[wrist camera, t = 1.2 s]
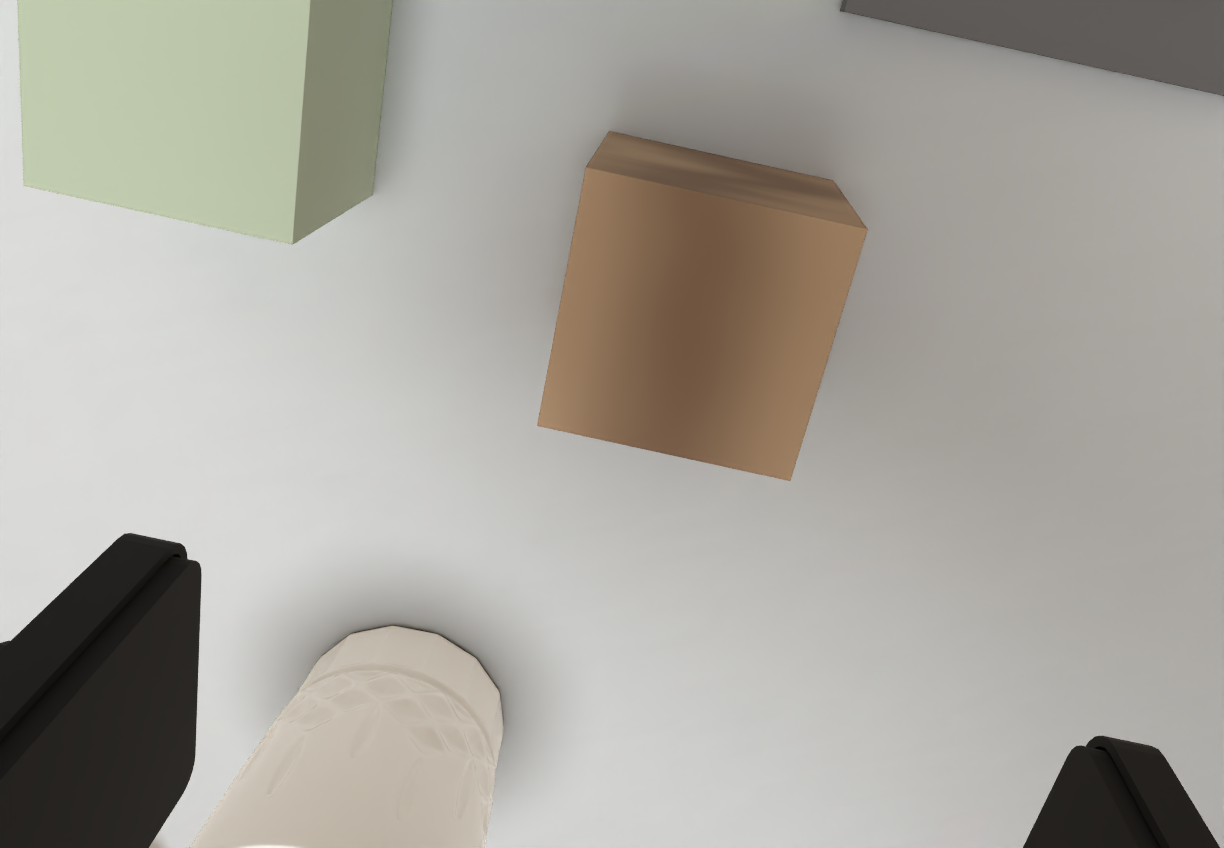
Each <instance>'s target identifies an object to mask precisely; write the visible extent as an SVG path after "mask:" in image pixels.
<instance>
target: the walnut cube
mask: <svg viewBox="0 0 1224 848" xmlns="http://www.w3.org/2000/svg"><path fill="white" fill-rule="evenodd" d="M867 230H868V229H867V228H866V226H865V225H864V223H863V222H862V221H861V219H860V218H859V216H858V215H857V213H856V212H855V211H854V209H853V208H852V206H851V205H850V204H849V202H848V201H847V199H846V198H845V197H844V195H843V194H842V192H841V191H840V189H839V188H838V187H837V185H836V184H835V182H834V181H833V180H828V179H824V178H819V177H815V176H810V175H806V174H801V173H797V172H792V171H788V170H783V169H778V168H774V167H769V166H765V165H760V164H756V163H751V162H747V161H742V160H738V159H733V158H729V157H724V156H719V155H715V154H710V153H706V152H701V151H697V150H692V149H688V148H683V147H679V146H674V145H669V144H665V143H660V142H656V141H651V140H647V139H642V138H638V137H633V136H629V135H624V134H620V133H615V132H610V131H609V132H608V134H607V135H606V137H605V138H604V140H603V141H602V143H601V145H600V146H599V148H598V149H597V151H596V152H595V154H594V155H593V157H592V159H591V160H590V162H589V163H588V165H587V166H586V169H585V175H584V180H583V185H582V191H581V196H580V201H579V206H578V212H577V217H576V222H575V228H574V233H573V238H572V244H571V249H570V254H569V260H568V265H567V270H566V275H565V281H564V286H563V291H562V297H561V302H560V307H559V313H558V318H557V323H556V328H555V334H554V339H553V344H552V350H551V355H550V360H549V366H548V371H547V376H546V382H545V387H544V392H543V397H542V403H541V408H540V413H539V419H538V424H537V426H540V427H545V428H550V429H554V430H559V431H563V432H568V433H573V434H577V435H582V436H586V437H591V438H595V439H600V440H605V441H609V442H614V443H618V444H623V445H628V446H632V447H637V448H641V449H646V450H651V451H655V452H660V453H664V454H669V455H673V456H678V457H683V458H687V459H692V460H696V461H701V462H706V463H710V464H715V465H719V466H724V467H728V468H733V469H738V470H742V471H747V472H751V473H756V474H761V475H765V476H770V477H774V478H779V479H784V480H788V481H790V480H791V477H792V474H793V470H794V467H795V464H796V461H797V457H798V454H799V451H800V448H801V444H802V441H803V438H804V435H805V431H806V428H807V425H808V422H809V418H810V415H811V412H812V409H813V405H814V402H815V399H816V396H817V392H818V389H819V386H820V383H821V379H822V376H823V373H824V370H825V366H826V363H827V360H828V357H829V353H830V350H831V347H832V344H833V340H834V337H835V334H836V331H837V327H838V324H839V321H840V318H841V314H842V311H843V308H844V305H845V301H846V298H847V295H848V292H849V288H850V285H851V282H852V279H853V275H854V272H855V269H856V266H857V262H858V259H859V256H860V253H861V249H862V246H863V243H864V240H865V236H866V233H867Z"/></svg>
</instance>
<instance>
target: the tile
mask: <svg viewBox="0 0 1224 848" xmlns="http://www.w3.org/2000/svg"><path fill="white" fill-rule="evenodd" d="M840 11H844V12H849V13H853V14H858V15H862V16H867V17H872V18H876V19H881V20H885V21H890V22H894V23H899V24H903V25H908V26H912V27H917V28H921V29H926V30H930V31H935V32H939V33H944V34H948V35H953V36H957V37H962V38H966V39H971V40H975V41H980V42H984V43H989V44H993V45H998V46H1002V47H1007V48H1011V49H1016V50H1020V51H1025V52H1029V53H1034V54H1038V55H1043V56H1047V57H1052V58H1057V59H1061V60H1066V61H1070V62H1075V63H1079V64H1084V65H1088V66H1093V67H1097V68H1102V69H1106V70H1111V71H1115V72H1120V73H1124V74H1129V75H1133V76H1138V77H1142V78H1147V79H1151V80H1156V81H1160V82H1165V83H1169V84H1174V85H1178V86H1183V87H1187V88H1192V89H1196V90H1201V91H1205V92H1210V93H1214V94H1219V95H1223V96H1224V0H843V2H842V6H841V10H840Z"/></svg>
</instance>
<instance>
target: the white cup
mask: <svg viewBox="0 0 1224 848" xmlns="http://www.w3.org/2000/svg"><path fill="white" fill-rule="evenodd" d="M503 732H504V726H503V718H502V709H501V700H500V693H499V691H498V689H497V688H496V686H495V685H494V684H493V682H492V681H491V679H490V678H489V676H488V675H487V673H486V672H485V671H484V669H483V668H482V666H481V665H480V663H479V662H478V660H477V659H476V658H475V657H473V656H472V655H470V654H469V653H467V652H465V651H464V650H462V649H461V648H459V647H457V646H456V645H454V644H453V643H451V642H449V641H448V640H446V639H445V638H443V637H441V636H440V635H438V634H434V633H429V632H424V631H418V630H413V629H408V628H403V627H398V626H388V627H383V628H378V629H373V630H368V631H363V632H358V633H353V634H350V635H349V636H347V637H346V638H345V639H343V640H342V641H341V642H340V643H338V644H337V645H336V646H334V647H333V648H332V649H331V650H329V651H328V652H327V653H326V654H324V655H323V656H322V657H320V658H319V660H318V661H317V662H316V664H315V665H314V667H313V669H312V670H311V672H310V673H309V675H308V676H307V678H306V680H305V681H304V683H303V684H302V686H301V687H300V689H299V690H298V692H297V694H296V695H295V697H294V698H293V699H292V700H291V701H290V702H289V704H288V705H287V706H286V707H285V708H284V709H283V711H282V712H281V713H280V714H279V716H278V717H277V718H276V719H275V721H274V722H273V724H272V725H271V727H270V728H269V730H268V731H267V733H266V735H265V736H264V738H263V739H262V741H261V742H260V743H259V745H258V746H257V747H256V749H255V750H254V751H253V752H252V754H251V755H250V757H249V758H248V759H247V761H246V762H245V764H244V765H243V767H242V768H241V770H240V771H239V773H238V774H237V776H236V777H235V779H234V780H233V782H232V783H231V785H230V786H229V788H228V789H227V791H226V792H225V794H224V795H223V797H222V799H221V800H220V802H219V803H218V805H217V806H216V808H215V809H214V811H213V812H212V814H211V815H210V817H209V818H208V820H207V821H206V823H205V824H204V826H203V827H202V829H201V830H200V832H199V833H198V835H197V837H196V838H195V840H194V841H193V843H192V844H191V846H190V847H189V848H485V844H486V837H487V829H488V822H489V818H490V813H491V809H492V804H493V795H494V786H495V770H496V766H497V761H498V757H499V752H500V747H501V742H502V737H503Z"/></svg>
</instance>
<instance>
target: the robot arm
mask: <svg viewBox="0 0 1224 848" xmlns="http://www.w3.org/2000/svg"><path fill="white" fill-rule="evenodd" d="M200 601H201V567H200V564H199V563H198V562H197V561H193V560H188V559H187V552H186V549H185V547H184V546H183V545H182V544H180V543H175V542H171V541H166V540H161V539H156V538H151V537H147V536H142V535H137V534H132V533H128V534H124V535H122V536H121V537H120V538H118V539H117V540H116V541H115V542H114V543H113V544H112V545H111V546H110V547H109V548H108V549H107V550H106V551H104V552H103V553H102V554H101V555H100V556H99V557H98V558H97V559H96V560H95V561H94V562H93V563H92V564H91V565H90V566H89V567H88V568H87V569H86V570H85V571H84V572H82V573H81V574H80V575H79V576H78V577H77V578H76V579H75V580H74V581H73V582H72V583H71V584H70V585H69V586H68V587H67V588H66V589H65V590H64V591H63V592H62V593H60V594H59V595H58V596H57V597H56V598H55V599H54V600H53V601H52V602H51V603H50V604H49V605H48V606H47V607H46V608H45V609H44V610H43V611H42V612H41V613H40V614H39V615H37V616H36V617H35V618H34V619H33V620H32V621H31V622H30V623H29V624H28V625H27V626H26V627H25V628H24V629H23V630H22V631H21V632H20V633H19V634H18V635H17V636H15V637H14V638H13V639H12V640H11V641H6V642H3V643H0V848H149V846H150V845H151V843H152V842H153V840H154V838H155V837H156V835H157V834H158V832H159V831H160V829H161V827H162V826H163V824H164V823H165V821H166V820H167V818H168V816H169V815H170V813H171V812H172V810H173V809H174V807H175V805H176V804H177V802H178V801H179V799H180V798H181V796H182V794H183V792H184V791H185V789H186V787H187V784H188V782H189V780H190V777H191V774H192V770H193V766H194V761H195V747H196V718H197V689H198V659H199V630H200ZM1023 848H1220V847H1219V845H1218V844H1217V842H1216V840H1215V839H1214V837H1213V835H1212V834H1211V832H1210V831H1209V829H1208V827H1207V826H1206V824H1205V822H1204V821H1203V819H1202V817H1201V816H1200V814H1199V812H1198V811H1197V809H1196V808H1195V806H1194V804H1193V803H1192V801H1191V799H1190V798H1189V796H1188V794H1187V793H1186V791H1185V790H1184V788H1183V786H1182V785H1181V783H1180V781H1179V780H1178V778H1177V776H1176V775H1175V773H1174V771H1173V770H1172V768H1171V767H1170V765H1169V763H1168V762H1167V760H1166V758H1165V757H1164V756H1163V754H1162V753H1161V752H1160V751H1159V750H1158V749H1156V748H1154V747H1152V746H1149V745H1144V744H1139V743H1134V742H1130V741H1125V740H1120V739H1115V738H1110V737H1106V736H1096V737H1094V738H1093V739H1091V740H1090V741H1089V742H1088V744H1087V745H1086V747H1085V746H1076V747H1075V748H1073V749H1072V750H1071V752H1070V753H1069V755H1068V756H1067V759H1066V761H1065V763H1064V765H1063V767H1062V769H1061V771H1060V773H1059V775H1058V777H1057V779H1056V781H1055V783H1054V785H1053V787H1052V789H1051V791H1050V793H1049V795H1048V797H1047V800H1046V802H1045V804H1044V806H1043V808H1042V810H1041V812H1040V814H1039V816H1038V818H1037V820H1036V822H1035V824H1034V826H1033V828H1032V830H1031V832H1030V834H1029V836H1028V838H1027V841H1026V843H1025V845H1024V847H1023Z"/></svg>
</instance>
